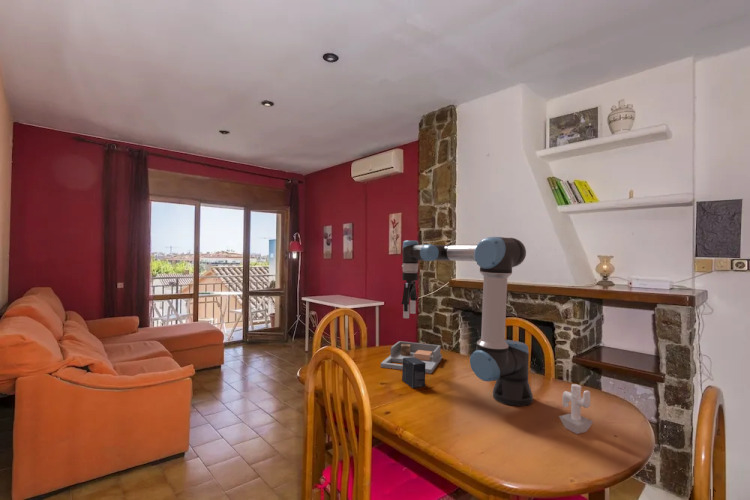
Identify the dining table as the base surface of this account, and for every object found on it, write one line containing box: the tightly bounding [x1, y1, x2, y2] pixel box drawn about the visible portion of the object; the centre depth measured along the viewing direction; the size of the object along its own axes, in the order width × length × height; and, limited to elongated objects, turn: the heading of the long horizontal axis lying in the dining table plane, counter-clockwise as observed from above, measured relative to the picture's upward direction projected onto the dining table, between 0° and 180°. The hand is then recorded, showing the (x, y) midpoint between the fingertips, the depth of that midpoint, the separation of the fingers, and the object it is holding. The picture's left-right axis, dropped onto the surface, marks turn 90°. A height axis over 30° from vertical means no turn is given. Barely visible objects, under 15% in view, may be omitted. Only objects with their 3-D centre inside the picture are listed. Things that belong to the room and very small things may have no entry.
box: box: [401, 357, 426, 389], centre depth 165 cm, size 11×7×10 cm, turn 22°
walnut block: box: [401, 344, 410, 356], centre depth 205 cm, size 5×5×5 cm
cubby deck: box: [380, 340, 443, 374], centre depth 196 cm, size 26×28×7 cm
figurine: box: [558, 383, 594, 435], centre depth 123 cm, size 7×9×15 cm
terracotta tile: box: [414, 350, 433, 361], centre depth 197 cm, size 8×8×3 cm
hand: (409, 315), depth 180 cm, fingers open, 13 cm apart
